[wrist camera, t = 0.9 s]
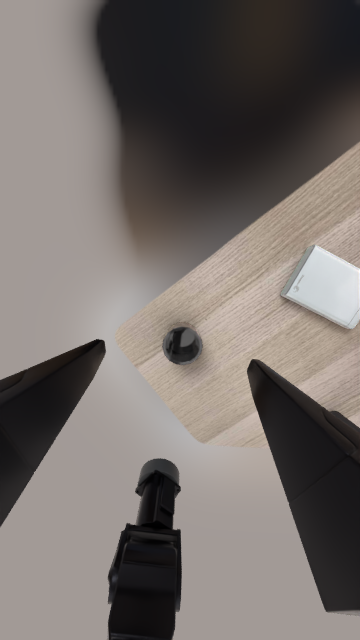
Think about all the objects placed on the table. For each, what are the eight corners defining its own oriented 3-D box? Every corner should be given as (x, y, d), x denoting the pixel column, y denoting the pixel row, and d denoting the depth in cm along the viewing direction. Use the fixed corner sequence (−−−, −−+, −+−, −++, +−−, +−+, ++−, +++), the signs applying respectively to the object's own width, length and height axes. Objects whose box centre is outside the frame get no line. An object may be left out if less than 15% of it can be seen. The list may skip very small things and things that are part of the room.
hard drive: (285, 295, 23) (354, 330, 24) (316, 243, 22) (387, 281, 23) (279, 295, 25) (343, 327, 26) (307, 247, 24) (374, 282, 24)
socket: (178, 360, 27) (178, 372, 23) (158, 334, 26) (154, 341, 22) (205, 342, 26) (210, 350, 22) (186, 315, 26) (187, 319, 22)
